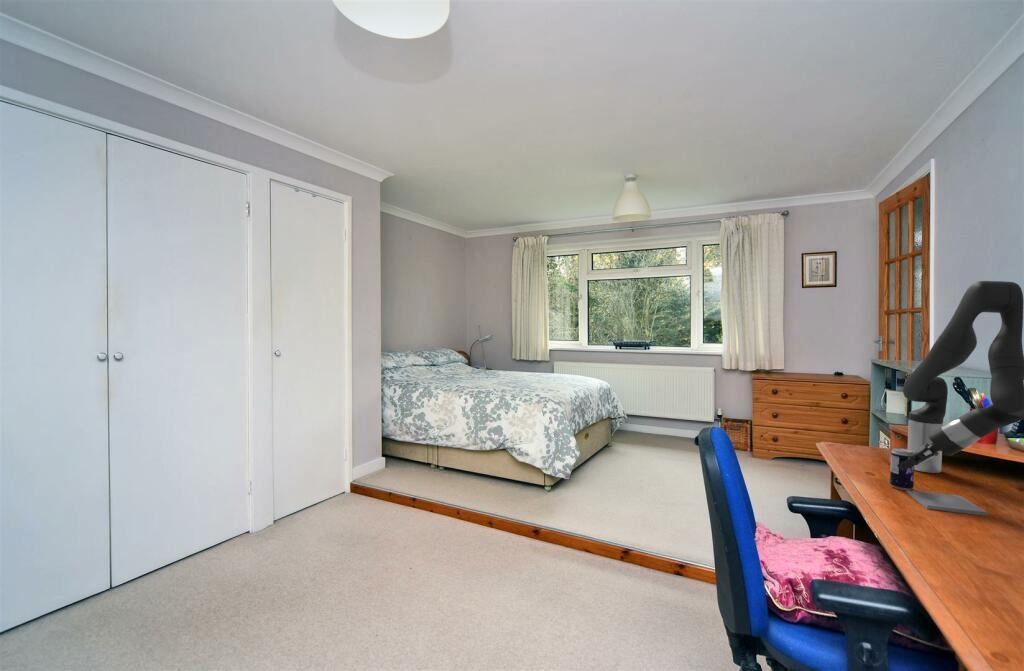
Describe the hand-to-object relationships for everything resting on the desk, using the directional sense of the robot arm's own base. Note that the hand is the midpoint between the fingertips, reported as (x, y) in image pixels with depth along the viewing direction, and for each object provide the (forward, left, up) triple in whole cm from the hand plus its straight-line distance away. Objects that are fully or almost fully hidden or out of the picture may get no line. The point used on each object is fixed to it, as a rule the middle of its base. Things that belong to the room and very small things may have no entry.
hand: (903, 465), depth 147 cm
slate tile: (+11, +6, -7) cm, 15 cm away
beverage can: (0, 0, -7) cm, 7 cm away
